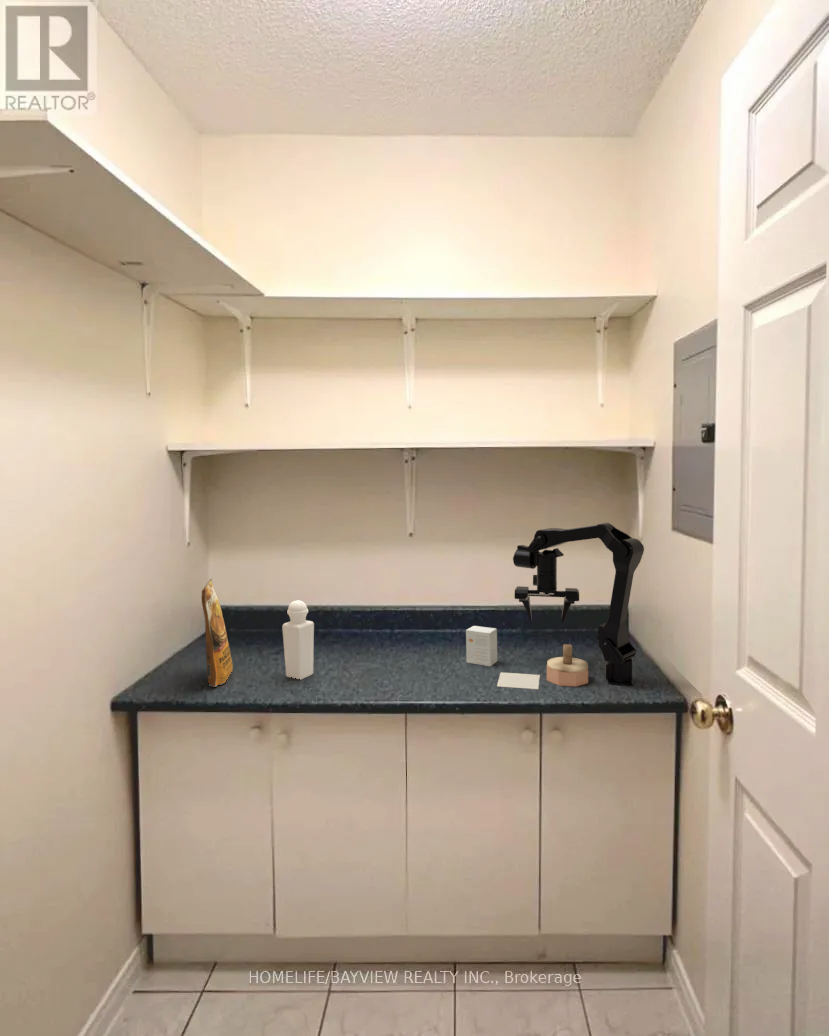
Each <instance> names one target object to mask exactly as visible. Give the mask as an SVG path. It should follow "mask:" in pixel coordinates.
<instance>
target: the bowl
mask: <svg viewBox="0 0 829 1036" xmlns="http://www.w3.org/2000/svg"><path fill="white" fill-rule="evenodd" d="M546 681H547V682H550V683H552V684H554V685H557V686H563V687H574V688H575V687H579V686H583V685H586V684H588V683H589V668H588V669H587V670H586V671H583V672H578V673H565V672H559V671H555V670H552V669H550V668H549V667H548V666H547V665H546Z"/></svg>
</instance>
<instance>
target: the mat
mask: <svg viewBox="0 0 829 1036" xmlns="http://www.w3.org/2000/svg"><path fill="white" fill-rule="evenodd" d="M540 678H541V674H530V673H519V672H518V673H514V672H500V673H499V677H498V680H497V685H496V687H499V688H500V687H502V688H513V689H516V688H517V689H527V690H539V686H540Z"/></svg>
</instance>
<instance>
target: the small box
mask: <svg viewBox="0 0 829 1036" xmlns="http://www.w3.org/2000/svg"><path fill="white" fill-rule="evenodd" d="M465 644H466V645H465V648H466V649H465V650H466V652H465V654H466V663H468V664H475V665H481V666H485V667H492V666H493V665H494V664H496V663H497V662H498V629H497V628H496V627H487V626H479V625H472V626H471V627H469V628H467V629H466V630H465Z"/></svg>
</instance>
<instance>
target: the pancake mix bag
mask: <svg viewBox="0 0 829 1036" xmlns="http://www.w3.org/2000/svg"><path fill="white" fill-rule="evenodd" d="M200 597H201V606H202V610H203V615H204V622H205V623H204V624H205V625H204V626H205V628H204V629H205V630H204V631H205V656H206V657H205V658H206V659H205V660H206V676H207V684H208V683H209V684H210V685H212V686H214V687H216V686H217V685H219V684H222V683H225V682H226V680H227V679H228V680H229V678H230V676H231V675H232V673H233V671H234V668H233V667H234V666H233V665H234V664H233V660H232V655H231V648H230V644H229V640H228V634H227V630H226V624H225V620H224V617H223V610H222V607H221V603H220V602H219V599H218V596H217V593H216V591H215V587H214V584H213V579H212V578H210V579H209V580H208V581H207V583H206V585H204V587H203V589H202V590H201V596H200ZM231 672H232V673H231ZM230 674H231V675H230ZM229 675H230V676H229ZM228 677H229V678H228ZM228 680H227V681H228ZM226 683H227V682H226ZM226 683H225V684H226Z"/></svg>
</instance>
